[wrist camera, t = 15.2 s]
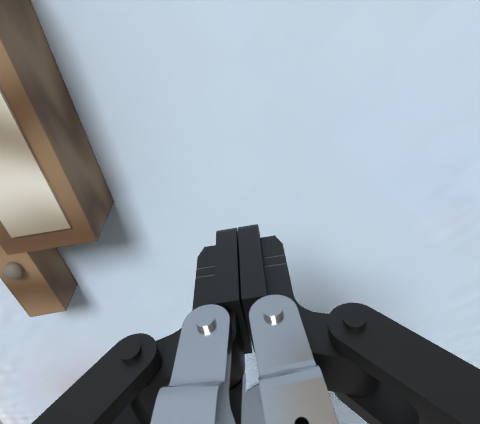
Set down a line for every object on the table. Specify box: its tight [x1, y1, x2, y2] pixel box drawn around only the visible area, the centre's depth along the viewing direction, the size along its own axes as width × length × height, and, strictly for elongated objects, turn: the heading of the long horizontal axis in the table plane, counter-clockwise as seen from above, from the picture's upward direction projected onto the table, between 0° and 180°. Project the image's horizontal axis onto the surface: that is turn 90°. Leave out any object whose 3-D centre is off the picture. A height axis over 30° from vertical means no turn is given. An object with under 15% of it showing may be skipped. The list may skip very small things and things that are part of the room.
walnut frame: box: [0, 0, 114, 255], centre depth 22 cm, size 16×6×5 cm, turn 9°
